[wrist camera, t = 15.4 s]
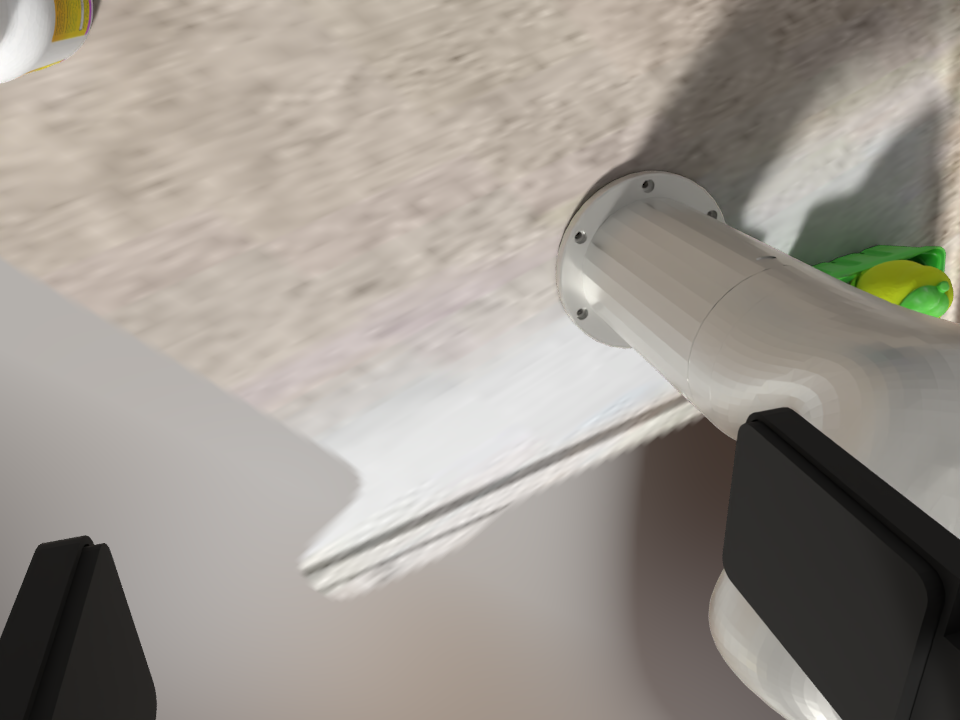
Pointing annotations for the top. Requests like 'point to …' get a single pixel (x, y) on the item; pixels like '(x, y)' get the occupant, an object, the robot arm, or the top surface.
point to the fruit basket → (898, 276)
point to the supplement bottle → (40, 33)
